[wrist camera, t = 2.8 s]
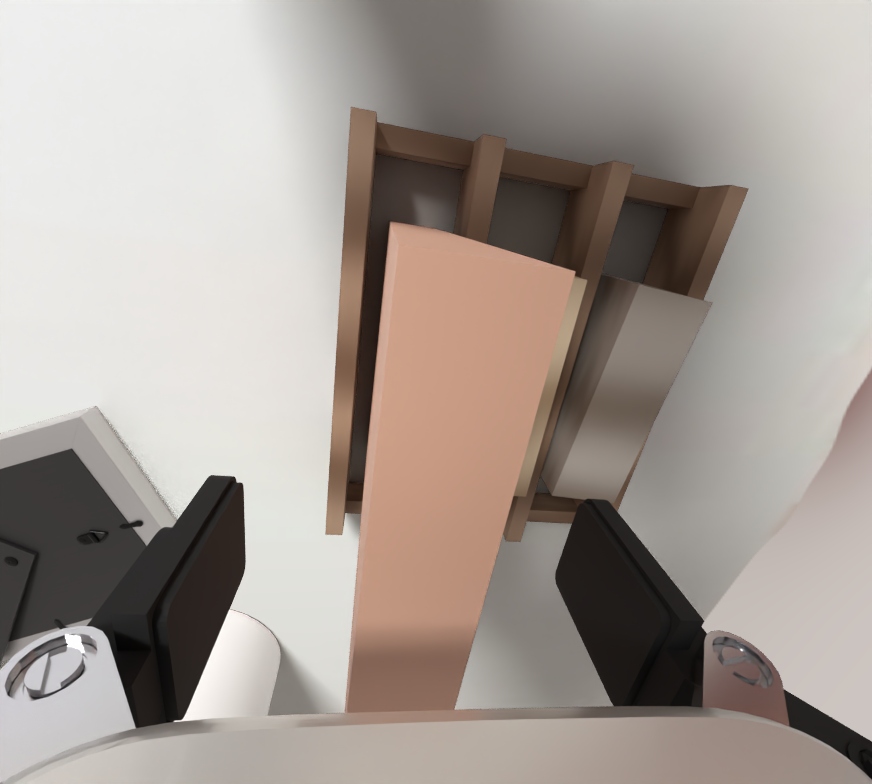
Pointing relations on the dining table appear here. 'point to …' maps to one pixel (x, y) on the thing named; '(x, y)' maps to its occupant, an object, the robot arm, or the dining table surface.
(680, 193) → the offcut rack
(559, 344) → the birch offcut
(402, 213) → the dining table surface
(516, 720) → the robot arm
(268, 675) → the cup
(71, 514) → the picture frame
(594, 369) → the grey offcut
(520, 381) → the plywood sheet
